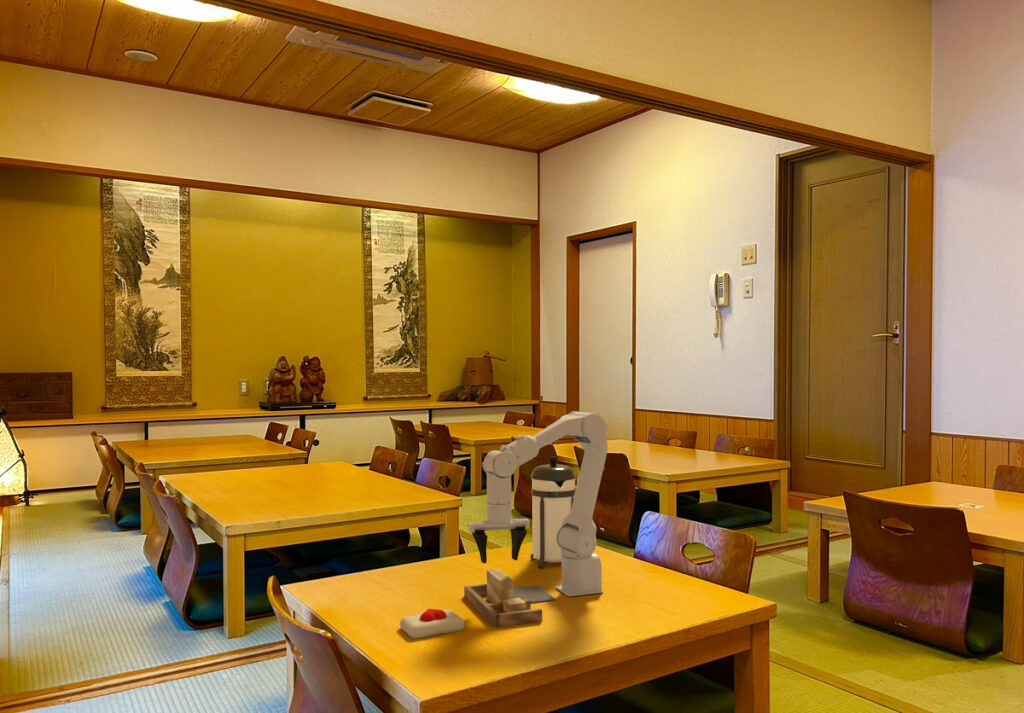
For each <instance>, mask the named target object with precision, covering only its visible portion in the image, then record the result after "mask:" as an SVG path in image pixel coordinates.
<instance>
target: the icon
mask: <svg viewBox="0 0 1024 713" xmlns="http://www.w3.org/2000/svg"><path fill="white" fill-rule="evenodd" d="M399 626H400V628H401V630H402V631H404V632H405V633H406V634H407V635H408V636H409V637H410V638H411V639H414V640H415V639H421V638H428V637H434V636H438V635H444V634H448V633H454V632H460V631H463V629H464V628H465V620H464V619H463V618H462V617H460V615H458V614H456V613H455V612H454V611H453V610H451V609H443V610H442V609H437V608H436V609H435V608H428V609H426V610H423V611H421V612H419V613H417V614H413V615H406V616H403V617H402V618H401V619H400V622H399Z"/></svg>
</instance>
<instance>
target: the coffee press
mask: <svg viewBox="0 0 1024 713" xmlns="http://www.w3.org/2000/svg"><path fill="white" fill-rule="evenodd" d="M557 463H558V458H557V457H556V456H555V455H554V456H550V458H549V464H542V465H537V466H536V467H534V469H533V470H532V472H531V474H530V478H531V491H530V492H531V494H530V495H532V496H531V499H532V500H531V501H532V504H531V507H532V514H531V515H532V518H531V519H532V520H531V521H532V524H531V527H532V531H531V532H532V538H531V539H532V553H531V555H530V557H529V558H530V559H531V560H532V561H534V560H538V564H537V568H538V569H545V567H546V565H547V564H548V563H562V553H561V548H560V547H559V546H558V544H557V541H556V535H557V532H558V530H559V529H560V527H561V526H562V523H563V519H564V518H565V517H566V516H567V515H569V514H570V512H571V508H572V504H573V500H574V495H575V491H576V484H575V483H576V478H577V474H576V473H575V470H574V468H572V467H570V466H568V465H565V464H557Z"/></svg>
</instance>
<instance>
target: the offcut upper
mask: <svg viewBox="0 0 1024 713" xmlns="http://www.w3.org/2000/svg"><path fill="white" fill-rule="evenodd" d="M503 609H504V610H506V611H507V612H515V611H523V610H526V602H524V601H523V600H521V599H520V598H513V599H506V600H503Z"/></svg>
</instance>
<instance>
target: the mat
mask: <svg viewBox="0 0 1024 713" xmlns="http://www.w3.org/2000/svg"><path fill="white" fill-rule="evenodd" d="M513 598H520V599H521V600H526V599H529V600H531V604H537V603H544V602H554V601H557V598H555V597H554V596H553V595H552V594H550V593H549V592H548V591H546V590H544V589H543V588H542V587H541V586H539V585H537V584H535V585H527V586H518V587H513Z"/></svg>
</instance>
